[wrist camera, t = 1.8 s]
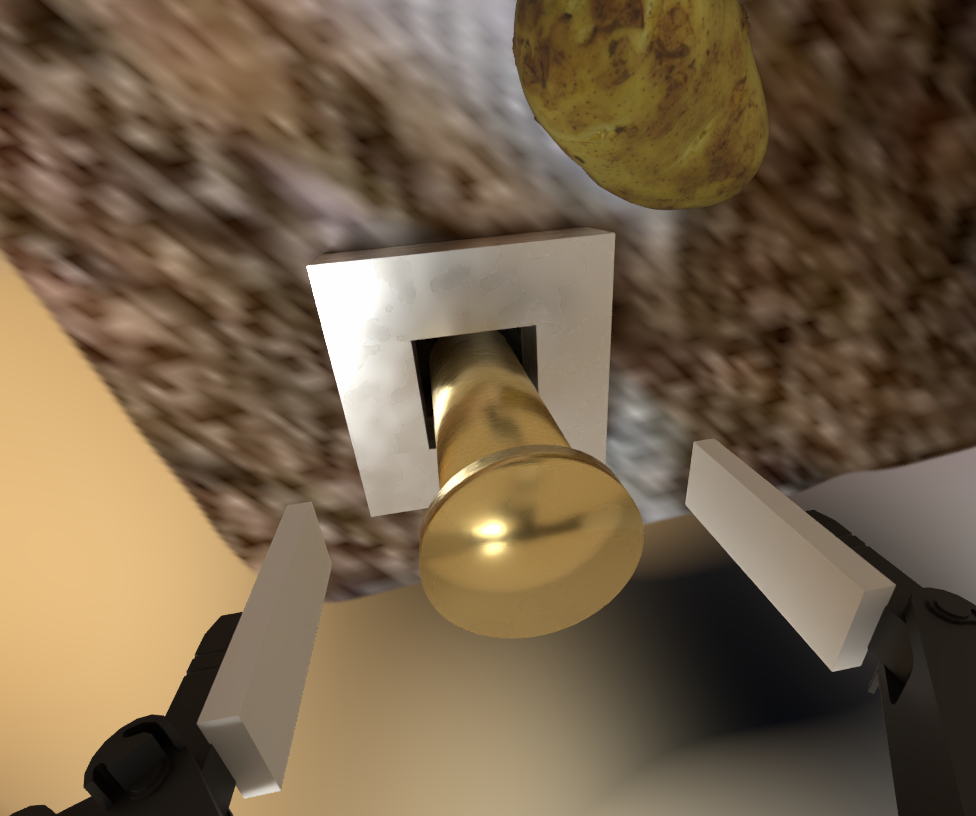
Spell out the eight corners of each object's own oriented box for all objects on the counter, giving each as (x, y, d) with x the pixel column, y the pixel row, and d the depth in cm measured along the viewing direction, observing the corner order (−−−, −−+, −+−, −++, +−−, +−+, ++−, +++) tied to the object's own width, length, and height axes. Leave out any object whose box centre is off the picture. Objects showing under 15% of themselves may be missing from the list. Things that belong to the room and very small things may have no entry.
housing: (323, 254, 23) (306, 265, 19) (585, 226, 24) (615, 232, 21) (376, 477, 29) (371, 516, 26) (582, 445, 30) (604, 479, 27)
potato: (615, 270, 26) (692, 301, 18) (463, 54, 20) (490, -19, 13) (738, 162, 24) (875, 150, 17) (609, -104, 19) (729, -286, 11)
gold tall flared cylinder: (409, 317, 25) (401, 486, 11) (521, 304, 26) (652, 447, 11) (426, 417, 28) (437, 655, 14) (525, 403, 28) (636, 617, 14)
